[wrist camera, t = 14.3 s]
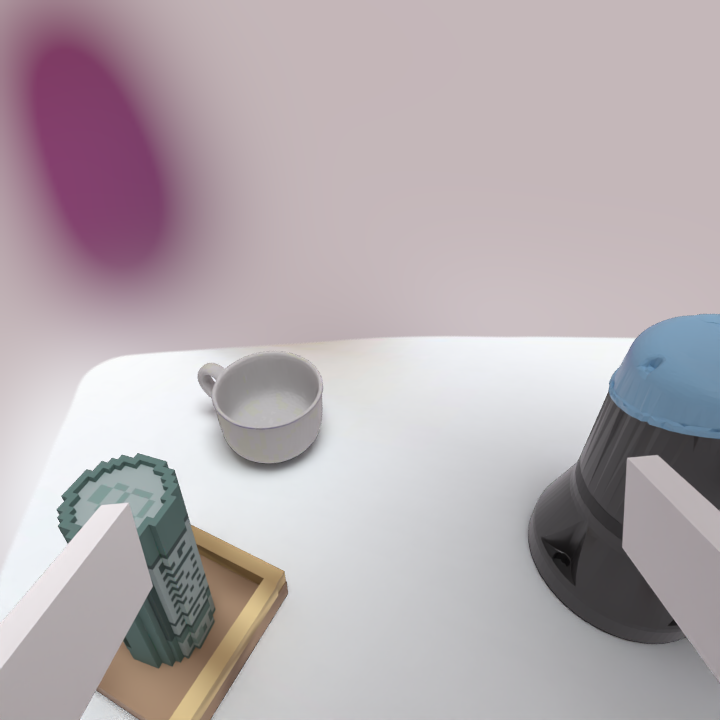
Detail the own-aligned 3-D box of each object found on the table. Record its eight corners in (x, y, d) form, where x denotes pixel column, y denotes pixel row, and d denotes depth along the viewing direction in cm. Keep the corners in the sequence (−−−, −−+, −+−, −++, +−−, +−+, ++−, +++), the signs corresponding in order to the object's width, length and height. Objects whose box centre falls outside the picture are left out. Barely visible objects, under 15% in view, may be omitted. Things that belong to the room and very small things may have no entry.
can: (160, 573, 41) (109, 445, 32) (228, 596, 40) (196, 470, 31) (109, 649, 37) (33, 525, 27) (184, 678, 35) (131, 559, 26)
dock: (173, 534, 46) (165, 512, 44) (288, 593, 42) (285, 571, 40) (58, 664, 37) (42, 644, 35) (189, 753, 33) (179, 736, 31)
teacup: (343, 433, 56) (344, 377, 51) (275, 498, 49) (268, 440, 44) (253, 382, 63) (246, 327, 58) (180, 433, 56) (165, 376, 51)
